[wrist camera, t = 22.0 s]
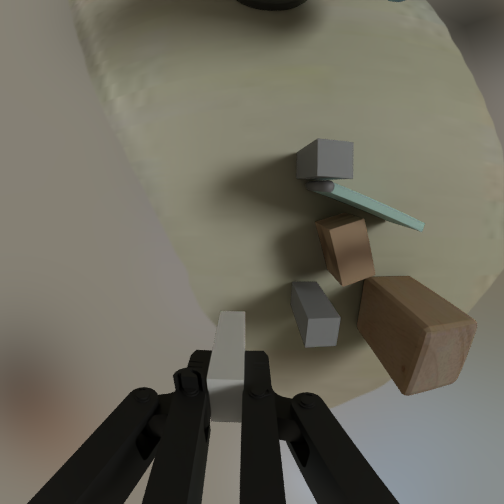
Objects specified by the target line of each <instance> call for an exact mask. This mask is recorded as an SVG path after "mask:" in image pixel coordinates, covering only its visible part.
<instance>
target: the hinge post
mask: <svg viewBox="0 0 504 504" xmlns="http://www.w3.org/2000/svg"><path fill="white" fill-rule="evenodd" d="M296 179H313V180H333V179H353V142H347V141H338V140H328V139H316V140H315V141H313V142H312V143H310V144H309V145H307V146H306V147H304V148H303V149H301V150H300V151H298V152H297V174H296Z"/></svg>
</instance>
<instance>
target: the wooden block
mask: <svg viewBox="0 0 504 504" xmlns="http://www.w3.org/2000/svg"><path fill="white" fill-rule="evenodd" d="M357 328H358V330H359V332H360V333H361V334H362V336H363V337H364V339H365V340H366V342H367V343H368V344H369V346H370V347H371V349H372V350H373V352H374V353H375V355H376V356H377V357H378V359H379V360H380V362H381V363H382V365H383V366H384V368H385V369H386V371H387V372H388V374H389V375H390V377H391V378H392V380H393V381H394V382H395V384H396V386H397V387H398V389H399V390H400V391H401V393H402V394H404V395H408V396H409V395H413V394H417V393H421V392H424V391H428V390H432V389H435V388H438V387H442V386H445V385H449V384H452V383H453V382H455V381H456V380H457V378H458V376H459V374H460V371H461V369H462V367H463V365H464V362H465V359H466V357H467V355H468V352H469V349H470V347H471V344H472V341H473V338H474V335H475V332H476V329H477V322H476V320H474V319H473V318H471V317H470V316H469V315H467V314H466V313H464V312H463V311H461V310H460V309H459V308H457V307H456V306H454V305H453V304H451V303H450V302H448V301H447V300H445V299H444V298H442V297H441V296H439V295H438V294H436V293H435V292H433V291H432V290H430V289H429V288H427V287H426V286H424V285H423V284H421V283H420V282H418V281H416V280H415V279H413V278H412V277H410V276H388V277H369V278H366V279H365V280H364V285H363V291H362V298H361V304H360V310H359V316H358V321H357Z"/></svg>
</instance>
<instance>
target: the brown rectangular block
mask: <svg viewBox="0 0 504 504" xmlns="http://www.w3.org/2000/svg"><path fill="white" fill-rule="evenodd" d="M315 224H316V227H317V231H318V235H319V239H320V242H321V246H322V250H323V254H324V258H325V262H326V266H327V270H328V271H329V272H330V273H331V274H332V275H333V276H334V277H335V279H336V280H337V281H338V282H339V283H340V284H341V285H342V286H343V287H344V286H346V285H349V284H352V283H355V282H358V281H360V280H363V279H366V278H369V277H371V276H374V275H375V270H374V264H373V259H372V253H371V248H370V243H369V238H368V234H367V229H366V224H365V220H364V219H363V218H360V217H357V216H354V215H351V214H347V213H342V214H338V215H335V216H332V217H329V218H325V219H322V220H319V221H316V222H315Z"/></svg>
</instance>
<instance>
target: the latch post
mask: <svg viewBox="0 0 504 504" xmlns="http://www.w3.org/2000/svg"><path fill="white" fill-rule="evenodd" d="M291 307H292V310H293V313H294V316H295V319H296V322H297V325H298V328H299V331H300V334H301V337H302V340H303V343H304V346H305V347H324V346H336V343H337V338H338V332H339V326H340V319H341V317H340V316H339V314H338V313H337V311H336V310H335V308H334V307H333V305H332V304H331V302H330V301H329V299H328V298H327V296H326V295H325V293H324V292H323V290H322V289H321V287H320V286H319V284H318V283H317V282H292V293H291Z"/></svg>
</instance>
